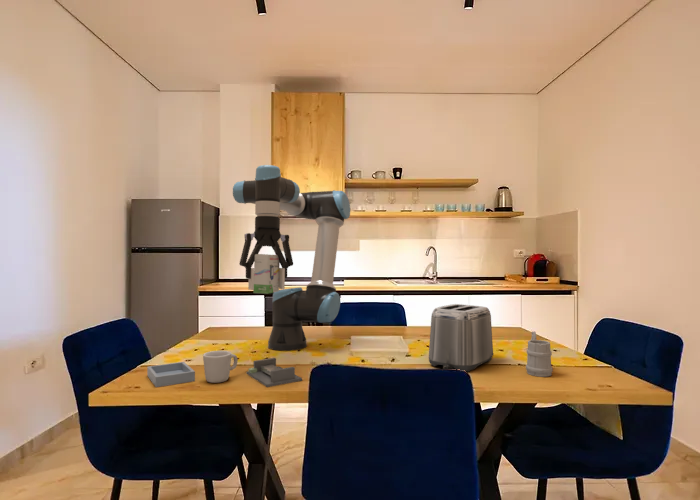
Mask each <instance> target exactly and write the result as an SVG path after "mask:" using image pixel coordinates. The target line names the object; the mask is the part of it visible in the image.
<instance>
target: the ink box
mask: <svg viewBox="0 0 700 500" xmlns="http://www.w3.org/2000/svg"><path fill="white" fill-rule="evenodd" d="M253 265H254V266H253V267H254V290H252V291H253V292H252V293H253V294H267V295H268V294H273V293H274V292H278V291H279V290H280V289H279V268H280V267H281V264H280V261H279V258H278V255H276V254H268V253H267V254H265V253H258V254H256V255H255V261H254V263H253Z"/></svg>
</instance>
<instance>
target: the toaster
mask: <svg viewBox="0 0 700 500" xmlns="http://www.w3.org/2000/svg"><path fill="white" fill-rule="evenodd" d="M430 320H431V321H430V332H429V345H428V347H429V348H428V362H429V365H430V366H433V367H436V366H439V365H441V366H442V370H443V369H456V370H457V369H460V370H465V371H464V372H470V371H473V370H475V369H476V368H477V367H478V366H480V365H482V364H484V363H486V362H487V363H488V362H490V361H491V360H492V359H493V356H494V347H493V343H494V342H493V330H492V328H493V327H492V326H493V325H492V314H491V311H490V309H489V308H488V307H486V306H479V305H471V304H462V303H461V304H460V303H459V304H458V303H454V304H448V305H442V306H438V307H435V308H434V309H433V310H432V313H431V318H430Z"/></svg>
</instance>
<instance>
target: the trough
mask: <svg viewBox="0 0 700 500" xmlns="http://www.w3.org/2000/svg"><path fill="white" fill-rule="evenodd" d="M146 368H147V374H146V375H147V377H148V379H149V380H150V382H151V383H152V384H153V386H154V387H155V388H160V387H166V386H172V385H173V386H174V385H179V384H185V383H193V382H195V381H196V371H195V370H194V369H193V368H192V367H191V366H189V365H188V364H187V363H186V362H185V361H178V362H171V363H165V364H158V365H150V366H147V367H146Z"/></svg>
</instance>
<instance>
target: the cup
mask: <svg viewBox="0 0 700 500" xmlns="http://www.w3.org/2000/svg"><path fill="white" fill-rule="evenodd" d="M232 358H233V362H231V361H232ZM202 360H203V367H204V377H205V380H206V381H207V382H208V383H213V384H217V383H220V384H221V383H224V382H226V381H227V380H228V379H229V378H230V374H231V373H230V371H233V370H234V369H236V368H237V366H238V356H237V355H236V354H234V353H232V352H231V351H228V350H212V351H207V352H204V353H203V355H202ZM231 363H232V365H231Z"/></svg>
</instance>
